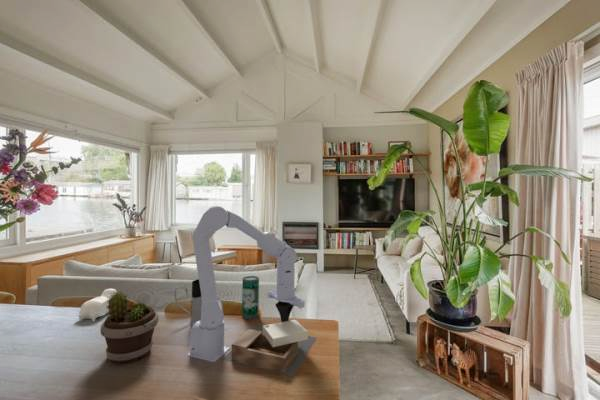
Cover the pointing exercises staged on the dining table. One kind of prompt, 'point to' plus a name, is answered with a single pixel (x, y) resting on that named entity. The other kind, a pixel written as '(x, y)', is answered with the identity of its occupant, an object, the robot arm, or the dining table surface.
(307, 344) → the desk mat
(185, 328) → the dining table surface
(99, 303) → the white figurine
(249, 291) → the can
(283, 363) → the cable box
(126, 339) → the flowerpot
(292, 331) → the lid
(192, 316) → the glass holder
